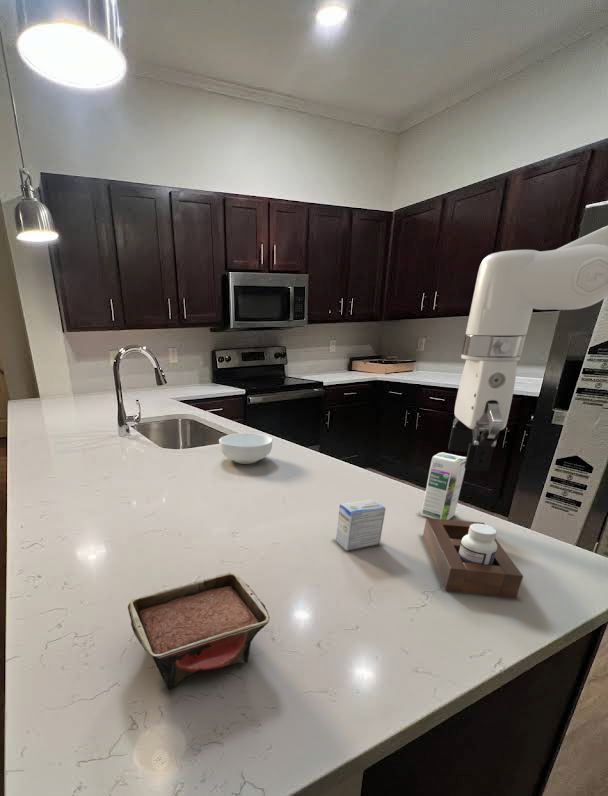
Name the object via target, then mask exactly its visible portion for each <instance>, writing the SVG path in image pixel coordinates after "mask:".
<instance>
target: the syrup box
mask: <svg viewBox="0 0 608 796" xmlns="http://www.w3.org/2000/svg"><path fill="white" fill-rule="evenodd" d="M466 457H467V456H462V455H457V454H453V453H447V452H444V451H443V452H438V453H437V454H434V455H433V456H432V458H431V461H430V466H429V471H428V477H427V482H426V487H425V493H424V498H423V503H422V507H421V510H420V516H422V517H425V518H433V519H445V520H451V518H453V517H454V516H455V513H456V509H457V506H458V502H459V497H460V493H461V489H462V486H463V481H464V477H465V473H466V472H465V471H466V469H465V467H464V466H465V462H466Z"/></svg>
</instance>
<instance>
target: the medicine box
mask: <svg viewBox="0 0 608 796" xmlns="http://www.w3.org/2000/svg"><path fill="white" fill-rule="evenodd" d="M386 510H387V509H386V507H385V506H384V505H382V504H381V503H380V502H378V501H377V500H375V499H373V498H370V499H364V500H358V501H351V502H346V503H345V502H344V503H341V504H339V507H338V516H337V524H336V525H337V526H336V533H335V541H336V543H337V544H338V545H340V546H341V547H342V548H343V549H344V550H345V551H353V550H358V549H361V548H367V547H372V546H377V545H380V544H381V538H382V532H383V527H384V522H385V521H384V520H385V515H386Z"/></svg>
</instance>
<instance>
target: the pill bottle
mask: <svg viewBox="0 0 608 796" xmlns="http://www.w3.org/2000/svg"><path fill="white" fill-rule="evenodd" d="M497 532H498V531H497V530H496V528H495V527H492V526H491V525H487V524H485V523H484V524H472V525H470V528H469V531H468V535H465V536H464V537H463V538H462V541H461V544H460V549H459V553H458V554H459V556H460V558H461V560H462V562H465V563H475V564H485V565H492V564H493V561H494V557H495V554H496V550H497V544H496V542H495V541H494V539H496V536H497Z"/></svg>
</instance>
